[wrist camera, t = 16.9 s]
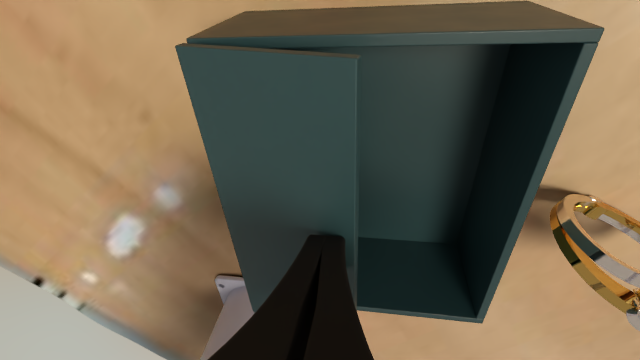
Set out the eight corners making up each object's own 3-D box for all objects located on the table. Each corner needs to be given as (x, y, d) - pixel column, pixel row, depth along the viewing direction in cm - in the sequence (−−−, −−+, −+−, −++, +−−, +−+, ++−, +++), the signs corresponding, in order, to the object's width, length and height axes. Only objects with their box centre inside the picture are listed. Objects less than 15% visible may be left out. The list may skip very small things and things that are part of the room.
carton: (281, 231, 24) (256, 300, 20) (244, 11, 16) (185, 38, 11) (460, 244, 22) (482, 323, 18) (528, 0, 14) (605, 27, 9)
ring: (516, 199, 20) (583, 322, 13) (557, 158, 18) (658, 278, 11) (615, 239, 20) (724, 375, 14) (664, 203, 18) (818, 342, 12)
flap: (256, 306, 19) (252, 311, 19) (183, 42, 11) (174, 45, 10) (356, 349, 17) (353, 356, 16) (362, 54, 8) (356, 58, 8)
